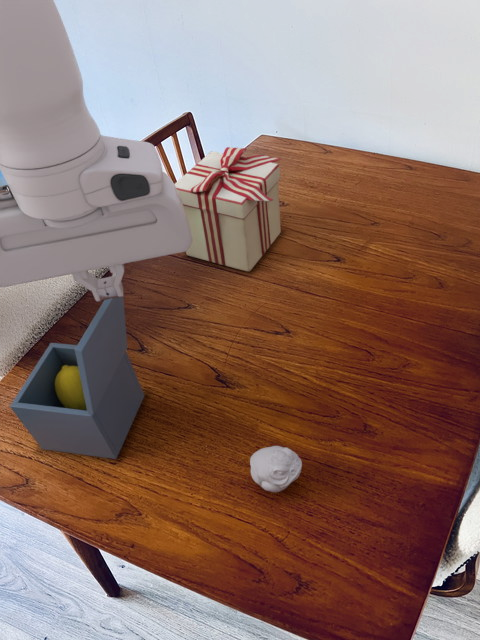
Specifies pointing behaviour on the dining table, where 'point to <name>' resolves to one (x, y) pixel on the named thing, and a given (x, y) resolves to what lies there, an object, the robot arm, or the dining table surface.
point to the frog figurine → (275, 468)
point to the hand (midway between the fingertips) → (110, 295)
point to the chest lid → (101, 350)
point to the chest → (71, 424)
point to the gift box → (232, 207)
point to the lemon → (70, 388)
